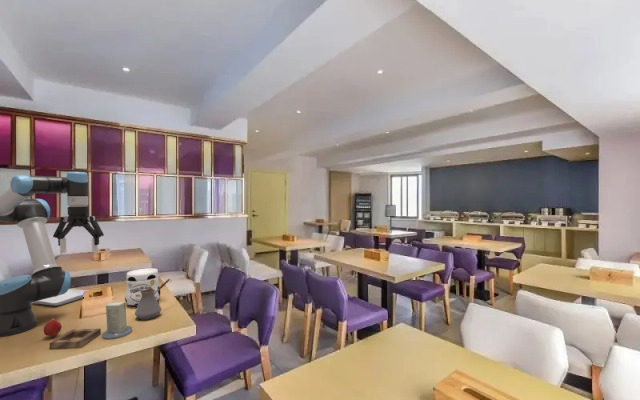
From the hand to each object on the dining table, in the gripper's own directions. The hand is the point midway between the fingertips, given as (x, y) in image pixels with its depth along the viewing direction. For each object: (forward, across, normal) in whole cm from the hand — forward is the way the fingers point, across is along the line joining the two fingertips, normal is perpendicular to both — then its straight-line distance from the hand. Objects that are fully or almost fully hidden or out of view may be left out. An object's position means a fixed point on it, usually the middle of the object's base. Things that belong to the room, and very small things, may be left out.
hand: (79, 252), depth 139 cm
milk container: (+35, +12, +32) cm, 49 cm away
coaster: (+35, +20, -7) cm, 41 cm away
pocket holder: (+35, +7, -13) cm, 38 cm away
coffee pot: (+35, +26, +16) cm, 46 cm away
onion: (+35, -6, -8) cm, 36 cm away
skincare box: (+34, +20, -7) cm, 40 cm away
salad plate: (+35, -38, +42) cm, 67 cm away
